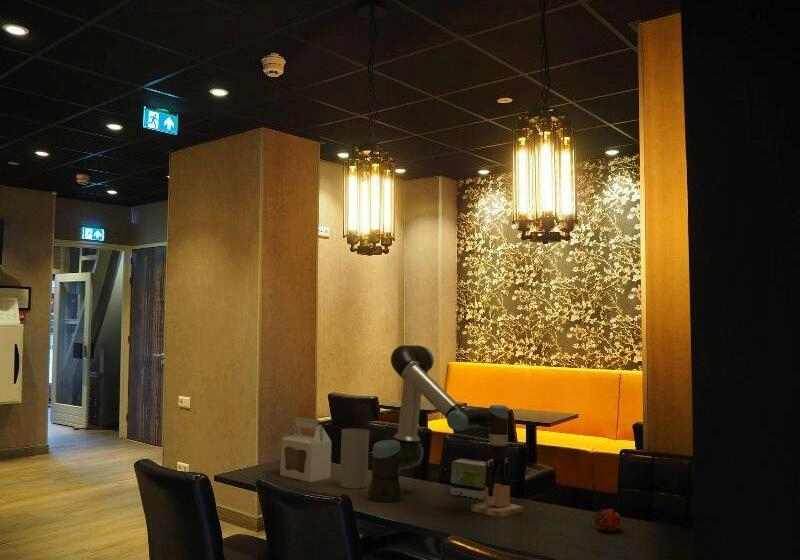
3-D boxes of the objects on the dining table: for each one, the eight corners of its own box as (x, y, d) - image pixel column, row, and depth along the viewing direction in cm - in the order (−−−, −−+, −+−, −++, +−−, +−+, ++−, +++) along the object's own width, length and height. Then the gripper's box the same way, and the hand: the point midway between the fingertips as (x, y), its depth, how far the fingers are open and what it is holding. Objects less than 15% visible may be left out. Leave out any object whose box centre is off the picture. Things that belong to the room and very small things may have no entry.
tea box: (449, 495, 293) (450, 460, 294) (458, 491, 302) (459, 457, 303) (482, 500, 286) (483, 464, 287) (490, 495, 295) (491, 461, 296)
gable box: (279, 475, 326) (282, 416, 329) (300, 471, 336) (303, 415, 339) (309, 482, 311) (312, 421, 314) (330, 478, 321) (333, 419, 324)
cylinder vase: (366, 489, 299) (368, 432, 302) (338, 488, 300) (340, 431, 302) (368, 483, 312) (369, 429, 314) (341, 482, 312) (343, 428, 315)
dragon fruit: (595, 537, 240) (614, 537, 247) (613, 527, 236) (632, 527, 243) (585, 514, 245) (603, 515, 252) (603, 504, 241) (621, 504, 248)
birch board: (470, 510, 267) (470, 505, 267) (492, 504, 278) (492, 499, 278) (502, 517, 257) (502, 512, 257) (523, 511, 268) (523, 506, 268)
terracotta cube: (484, 503, 268) (485, 485, 268) (495, 501, 273) (495, 483, 273) (499, 507, 263) (499, 488, 264) (509, 504, 268) (509, 486, 269)
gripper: (491, 447, 260) (490, 508, 258) (520, 443, 275) (519, 501, 272) (475, 445, 265) (474, 505, 263) (504, 441, 280) (503, 497, 278)
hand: (497, 503), depth 268 cm, fingers closed on terracotta cube, 7 cm apart
